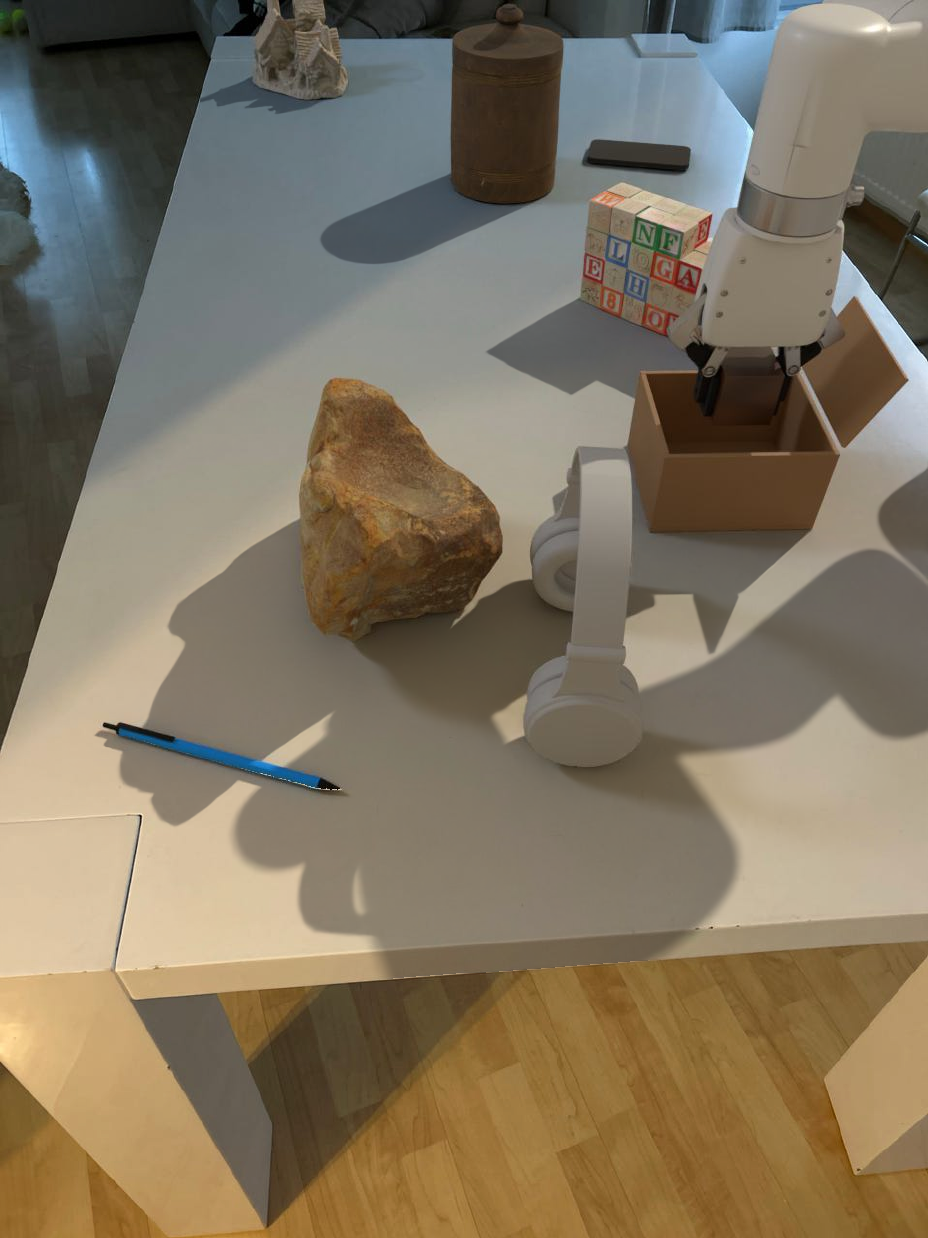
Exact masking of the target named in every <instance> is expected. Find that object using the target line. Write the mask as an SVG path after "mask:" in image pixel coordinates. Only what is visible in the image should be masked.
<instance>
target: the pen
mask: <svg viewBox="0 0 928 1238" xmlns="http://www.w3.org/2000/svg"><path fill="white" fill-rule="evenodd" d="M101 726H102V728H104V729H109V730H111V731H115V734H116V735H117V736H120V735H121V737H124V736H126V737H125V738H127V737H129V738H128V739H131V738H133V739H132V740H135V739H136V740H135V741H138V740H140V741H139V742H142V741H145V742H144V743H146V742H148V743H147V744H149V743H152V744H151V745H153V744H155V745H154V746H156V745H159V746H158V747H160V746H162V747H161V748H164V747H165V748H164V749H167V748H170V749H169V750H171V749H173V750H172V751H175V750H176V751H175V752H178V751H180V752H179V753H182V752H183V754H185V753H188V754H187V755H189V754H191V755H190V756H193V755H194V757H196V756H198V757H197V758H200V757H201V758H200V759H203V758H206V759H205V760H207V759H209V760H208V761H211V760H214V761H217V762H216V763H218V762H221V763H220V764H222V763H224V764H223V765H225V764H228V765H227V766H229V765H231V766H230V767H232V766H235V767H234V768H236V767H239V768H238V769H240V768H243V769H247V770H250V771H249V772H251V771H254V772H257V773H256V774H258V773H263V774H267V775H271V776H272V777H273V776H274V777H276V778H282V779H286V780H287V781H288V780H290V781H291V782H297V783H301V784H305V785H307V786H311V787H315V788H321V789H326V788H327V789H330V790H332V789H337V790H338V789H340V788H341V786H338V785H336V784H334V783H333V782H330V781H328V780H327V779H325V778H323V777H320V776H316V775H313V774H309V773H305V772H302V771H298V770H295V769H291V768H287V767H285V766H284V767H283V766H279V765H276V764H272V763H270V762H265V761H261V760H258V759H254V758H250V757H247V756H243V755H240V754H236V753H232V752H228V751H225V750H222V749H218V748H213V747H210V746H206V745H203V744H200V743H196V742H192V741H188V740H186V739H185V740H184V739H181V738H178V737H176V736H173V735H170V734H167V733H166V734H165V733H162V732H158V731H155V730H151V729H147V728H143V727H140V726H136V725H133V724H129V723H126V722H121V721H120V722H117V724H113V723H109V722H105V721H104V722H102V725H101ZM214 761H213V762H214ZM243 769H242V770H243ZM247 770H246V771H247ZM254 772H253V773H254ZM272 777H271V778H272ZM276 778H275V779H276ZM287 781H286V782H287Z"/></svg>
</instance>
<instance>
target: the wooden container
mask: <svg viewBox="0 0 928 1238" xmlns="http://www.w3.org/2000/svg"><path fill="white" fill-rule="evenodd" d="M495 18H496V21H497V22H495V23H484V24H479V25H474V26H470V27H466V28H464V29H462V30H459V31H458V32H456V33H455V34H454V36H453V37H452V42H451V43H452V44H451V60H452V61H451V62H452V65H451V100H450V101H451V102H450V182H451V185H452V187H453V188H454V190H456V191H457V192H458V193H460V194H461V195H463V196H465V197H467V198H470V199H473V200H476V201H479V202H484V203H491V204H503V205H504V204H508V205H509V204H520V203H526V202H531V201H533V200H537V199H539V198H542V197H544V196H545V195H548V193H550V192H552V190H553V188H554V186H555V180H556V179H555V177H556V167H557V166H556V163H557V162H556V161H557V153H558V142H559V125H560V123H559V122H560V120H559V119H560V100H561V99H560V98H561V84H562V83H561V82H562V69H563V63H564V62H563V60H564V48H565V47H564V46H565V45H564V39H563V38H562V37H561V36H560V35H559V34H558V33H556V32H554V31H552V30H550V29H547V28H544V27H540V26H536V25H531V24H523V23H521V22H522V21H523V19H524V12H523V11H522V9H521V8H519V7H517V4H515V3H506V4H503V5H502V6H500V7H499V8H498V9H497V10H496V14H495Z"/></svg>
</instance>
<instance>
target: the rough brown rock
mask: <svg viewBox="0 0 928 1238" xmlns="http://www.w3.org/2000/svg"><path fill="white" fill-rule="evenodd" d="M318 406H319V407H318V410H317V414H316V417H315V421H314V423H313V426H312V429H311V432H310V436H309V441H308V445H307V452H306V453H307V455H306V465H305V470H304V472H303V474H302V475H301V480H300V486H299V493H298V504H299V523H300V526H299V529H300V535H299V537H300V564H301V566H300V581H301V582H300V583H301V588H302V589H303V592H304V593H303V594H304V600H305V604H306V607H307V612H308V616H309V620H310V621H311V622H312V623H313V624H314V626H315V627H316V628H317V629H318V630H319V631H320V632H321V633H322V634H323V635H329V636H331V635H332V636H335V635H336V636H337V635H338V636H339V637H341V638H344V639H346V640H349V641H351V642H352V643H353V642H354V641H356V640H358V639H360V638H362V637H363V636H365V635H367V634H371V631H372V626H373V625H374V624H376V623H377V622H379V623H381V622H387V621H390V620H403V619H404V620H405V619H415V618H418V617H420V616H423V615H424V614H426V613H449V612H455V611H459V610H460V611H461V610H464V609H465V607H467V606H468V605H469V603H471V602H472V601H473V600H474V598H475V596H476V594H477V593H478V590H479V588H480V587H481V586H480V585H481V583H482V581H484V580H485V578H486V577H487V576H488V574H489V573H490V572H491V570H492V569H493V568H494V566H495V564H496V563H497V562H498V561H499V559H500V557H501V556H502V554H503V542H504V540H503V539H504V538H503V537H504V536H503V532H502V529H501V525H500V522H501V516H500V514H499V512H498V510H497V507H496V505H495V504H494V503H493V502H492V501H491V500H490V498H489V496H487V494H485V492H484V491H483V490H482V489H481V488H480V486H478V485H477V484H475V483H474V482H472V480H471V479H470V478H469V477H468V476H466V475H465V474H464V473H463V472H461V471H459V470H457V469H455V468H454V467H452V466H451V465H449V464H447V463H446V461H444V460H443V459H442V458H440V456H439V455H438V454H437V453H436V452H435V451H434V450H433V448H432V447H431V446H430V444H428V442H427V440H426V438H425V436H424V435H423V433H422V431H421V429H420V428H419V427H417V425H415V424H414V423H413V422H412V421H411V420H410V418H409V417H408V415H407V414H406V413H405V411H404V410H403V409H402V407H401V406H399V405H398V403H397V402H396V401H395V399H394V397H393V395H391V394H389V393H388V392H387V391H385V390H384V389H382V388H380V387H378V386H376V385H373V384H370V383H368V382H365V381H363V380H362V379H358V378H348V377H347V378H346V377H333V378H330V379H329V380H328V382H327V383H325V385H324V387H323V389H322V393H321V397H320V402H319V405H318Z"/></svg>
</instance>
